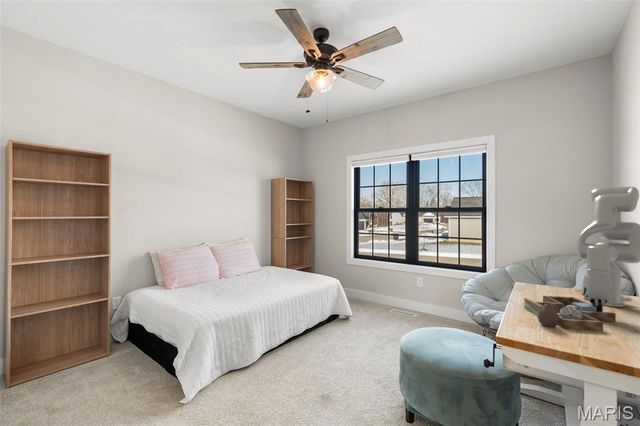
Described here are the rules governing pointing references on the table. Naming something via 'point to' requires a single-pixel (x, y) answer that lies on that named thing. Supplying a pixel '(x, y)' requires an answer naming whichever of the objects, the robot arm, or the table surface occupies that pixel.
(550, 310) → the vase
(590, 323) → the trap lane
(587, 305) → the slate block
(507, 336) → the table surface
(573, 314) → the game die
